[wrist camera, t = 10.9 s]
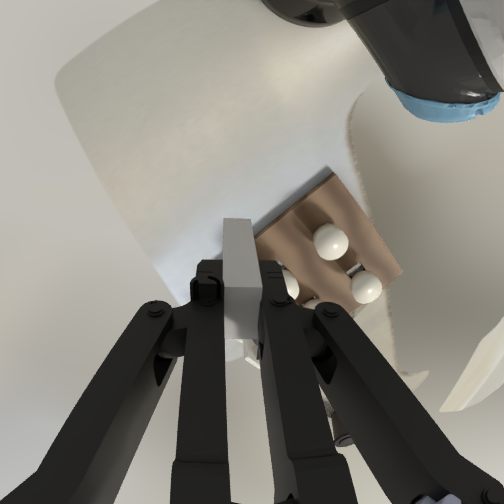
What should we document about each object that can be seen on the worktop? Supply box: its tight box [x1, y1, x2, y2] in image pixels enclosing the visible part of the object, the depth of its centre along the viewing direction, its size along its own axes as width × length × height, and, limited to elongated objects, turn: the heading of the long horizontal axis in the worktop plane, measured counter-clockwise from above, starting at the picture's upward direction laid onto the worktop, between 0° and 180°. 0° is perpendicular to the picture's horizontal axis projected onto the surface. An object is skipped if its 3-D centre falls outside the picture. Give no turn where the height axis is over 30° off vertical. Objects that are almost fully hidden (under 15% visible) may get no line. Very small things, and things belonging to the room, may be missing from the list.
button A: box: [313, 224, 348, 260], centre depth 49 cm, size 5×5×4 cm
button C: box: [282, 269, 299, 300], centre depth 50 cm, size 5×5×4 cm
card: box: [237, 336, 260, 369], centre depth 59 cm, size 4×12×9 cm, turn 41°
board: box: [254, 172, 403, 314], centre depth 55 cm, size 24×24×1 cm
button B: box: [349, 270, 382, 304], centre depth 52 cm, size 5×5×4 cm
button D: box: [302, 298, 324, 309], centre depth 56 cm, size 5×5×4 cm
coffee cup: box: [331, 411, 354, 447], centre depth 75 cm, size 8×8×10 cm
